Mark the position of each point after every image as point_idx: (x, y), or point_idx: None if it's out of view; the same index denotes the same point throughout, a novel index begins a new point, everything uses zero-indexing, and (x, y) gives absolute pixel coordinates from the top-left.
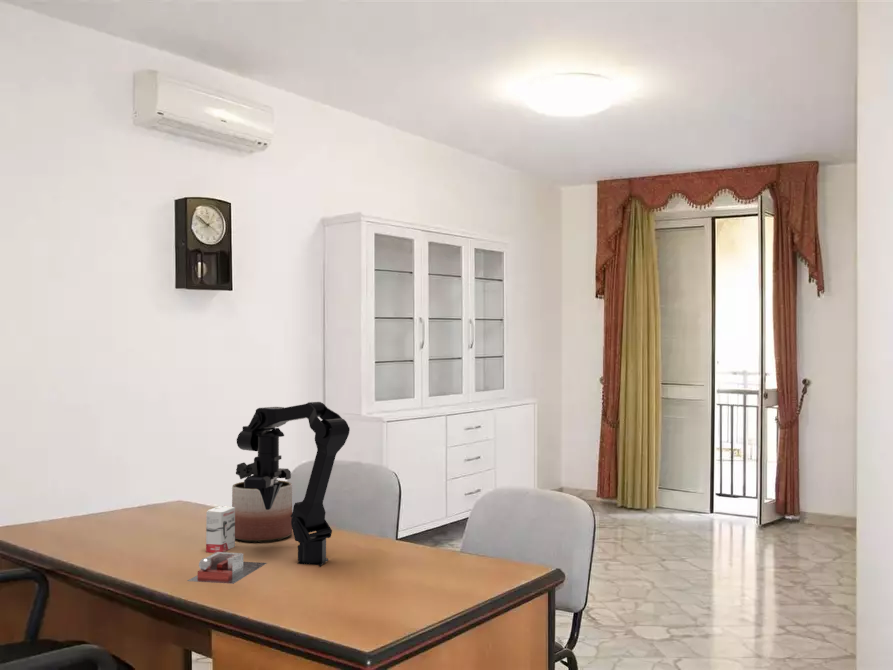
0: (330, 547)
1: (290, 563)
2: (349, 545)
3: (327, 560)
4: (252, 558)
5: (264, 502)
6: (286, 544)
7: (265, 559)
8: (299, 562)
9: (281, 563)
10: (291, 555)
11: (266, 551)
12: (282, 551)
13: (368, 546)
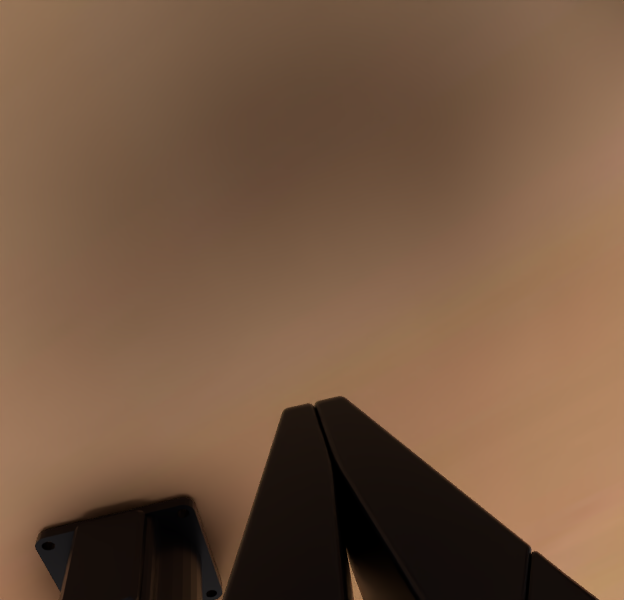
0: (516, 443)
1: (61, 474)
2: (575, 493)
3: (202, 597)
4: (25, 162)
5: (247, 537)
6: (562, 147)
7: (59, 279)
8: (57, 543)
9: (27, 433)
10: (253, 368)
11: (297, 130)
12: (339, 250)
13: (563, 564)
